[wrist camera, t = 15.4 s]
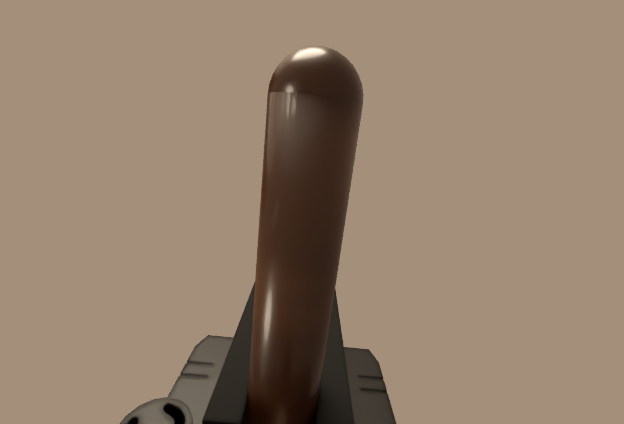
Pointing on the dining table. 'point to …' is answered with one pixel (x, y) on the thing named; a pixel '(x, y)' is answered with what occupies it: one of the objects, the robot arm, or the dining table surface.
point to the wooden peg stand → (300, 229)
